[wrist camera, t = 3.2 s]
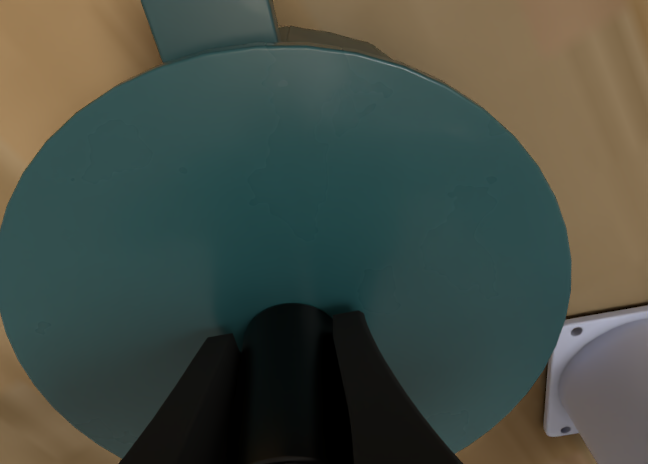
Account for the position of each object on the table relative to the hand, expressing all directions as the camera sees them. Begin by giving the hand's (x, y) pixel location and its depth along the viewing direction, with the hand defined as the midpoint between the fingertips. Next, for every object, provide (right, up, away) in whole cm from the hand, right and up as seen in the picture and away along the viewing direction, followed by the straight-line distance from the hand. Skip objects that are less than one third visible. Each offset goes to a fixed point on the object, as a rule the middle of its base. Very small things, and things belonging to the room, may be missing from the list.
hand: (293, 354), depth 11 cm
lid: (0, +1, +1) cm, 1 cm away
